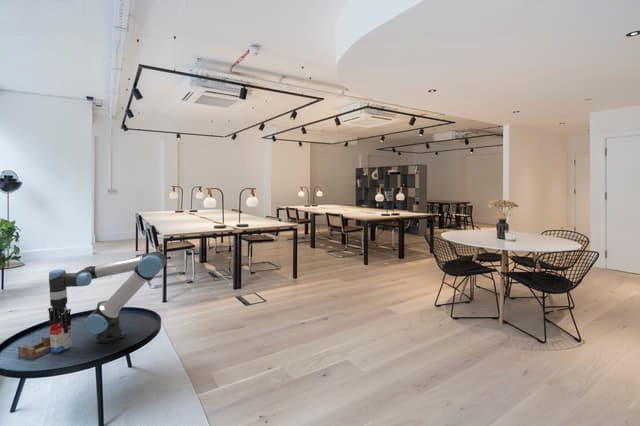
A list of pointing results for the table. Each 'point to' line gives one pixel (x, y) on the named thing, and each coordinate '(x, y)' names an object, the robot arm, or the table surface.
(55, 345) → the red white carton
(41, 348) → the wooden crate
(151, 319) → the table surface
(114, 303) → the robot arm
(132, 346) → the table surface
